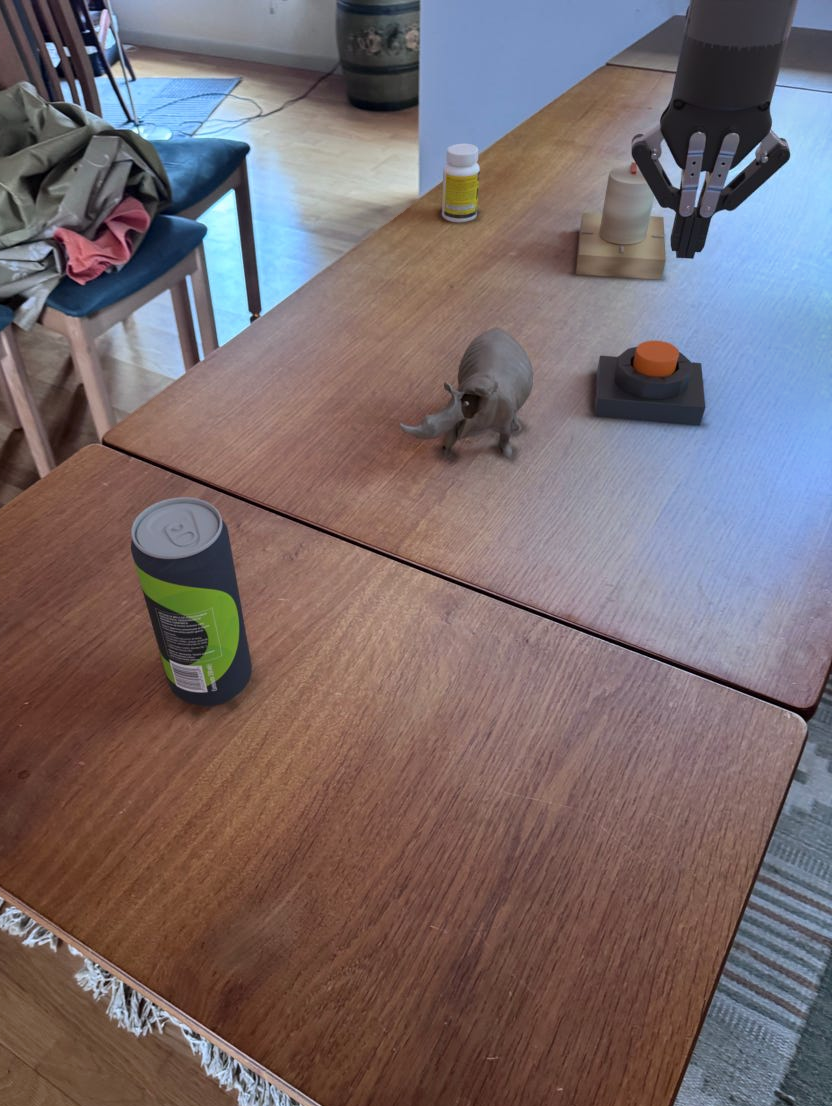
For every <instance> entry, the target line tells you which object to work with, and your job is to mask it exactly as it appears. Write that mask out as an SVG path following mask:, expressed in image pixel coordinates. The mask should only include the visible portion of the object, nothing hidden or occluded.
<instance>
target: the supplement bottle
mask: <svg viewBox="0 0 832 1106" xmlns="http://www.w3.org/2000/svg"><path fill="white" fill-rule="evenodd" d="M445 160H446V163H445V164H444V165H443V168H442V193H441V216H442V218H443V219H444V220H446V221H448V222H450V223H457V224H458V223H466V222H471V221H473V220H474V219H476V218H477V216H478V203H479V190H480V189H479V188H480V176H481V175H480V174H481V167H480V165H479V163H478V160H479V148H478V146H476V145H475V144H470V143H456V144H455V143H454V144H452V145H450V146H448V147H447V149H446V158H445Z"/></svg>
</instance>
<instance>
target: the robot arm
mask: <svg viewBox="0 0 832 1106" xmlns="http://www.w3.org/2000/svg"><path fill="white" fill-rule="evenodd" d="M798 4H799V0H689V4H688V6H687V9H686V13H685V17H684V18H685V24H684V30H683V35H682V40H681V45H680V51H679V54H678V55H679V56H678V61H677V66H676V71H675V77H674V80H673V81H674V82H673V87H672V92H671V97H670V100H669V102H668V104H667V106H666V108H665V109H664V110H663V112H662V113H661V117H660V120H659V124H657V125H656V126H654V127H653V128H652V129H650V130H649V131H647V132H646V133H645V134H643V133H637V134H636V135H634V136H633V137H632V139H631V148H630V149H631V158H632V159H633V161H634V163H636V164H637V166H638V168H639V170H640V171H641V173H642V175H643V177H644V178H645V180H646V182H647V184H648V185H649V187H650V189H651V191H652V192H653V194H654V199H655V200H656V201H657V203H658V205H659V207H660V208H662V209H667V208H668V209H670V210H673V212H675V215H674V218H673V219H674V220H673V224H672V228H671V234H670V238H669V239H670V249H671V252H675V258H676V259H687V260H689V259H690V260H694V259H695V254H696V253H701V252H702V251H703V249H704V248H705V245H706V241H707V237H708V233H709V230H710V225H711V220H712V219H713V217H714V215H716V214H717V213H719V212H722V211H728V212H732V211H735V210H736V209H737V208H739V207H740V205H742V204H743V203H744V202H745V201H746V200H747V199H748V198H749V197H750V196H752V195H753V194H754V193H755V192H756V191H758V189H760V187H761V186H762V185H764V184H765V183H766V182H767V181H768V180H769V179H770V178H772V176H774V175H775V174H776V173H777V172H778V171H779V170H780V169H781V168H783V166H784V165H786V164H788V162H789V160H790V159H791V152H790V151H791V149H790V146H789V143H788V141H787V140H786V138H784V137H779V136H778V135H777V133H775V131H773V130H772V126H773V119H772V115H771V104H772V99H773V96H774V92H775V89H776V85H777V82H778V77H779V74H780V71H781V67H782V63H783V60H784V55H785V51H786V48H787V44H788V40H789V37H790V33H791V30H792V26H793V22H794V18H795V15H796V11H797V7H798ZM663 140H664V142H665V143H666V146H667V148H668V150H669V152H670V154H671V157H672V158H673V160H674V162H675V164H676V166H677V167H678V168H680V169H681V172H680V183H679V188H678V187H676V186H674V185H673V183H672V182H671V180H670V178H669V176H668V174H667V173H666V171H665V169H664V167H663V165H662V164H661V162H660V160H659V159H660V158H661V156H662V153H663V151H662V142H663ZM757 146H758V147H757ZM756 147H757V149H756ZM754 149H756V150H755V152H754V156H755V158H754V159H753V160H752V161H751V162H750V163H749V164H748V165H747V166H745V167H744V168H743V169H742V170H741V171H740V172H739V173H738V174H736V176H735V177H734V178H733V179H731V181H729V182H728V183H727V184H726V182H727V178H728V175H729V172H730V171H732V170H733V169H736V167H737V166H738V165H739V164H740V163H741V162H742V161H743V160H745V158H746V157H748V156H749V154H751V153H752V152H753V150H754ZM704 172H705V175H704V180H703V182H702V186H701V190H700V194H699V197H698V200H697V205H696V199H697V193H698V188H699V185H700V184H699V183H700V178H701V173H704ZM725 184H726V185H725Z"/></svg>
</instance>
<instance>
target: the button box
mask: <svg viewBox="0 0 832 1106" xmlns="http://www.w3.org/2000/svg"><path fill="white" fill-rule="evenodd" d="M636 348H637V346H632V347H628V348H627V349H625V350H624V351H623V352H622V353H621V354H620V355H618V356H614V355H613V356H612V355H599V358H598V363H597V368H596V369H597V370H596V376H595V397H594V417H595V418H604V419H617V420H627V421H628V420H629V421H640V422H651V423H661V424H663V423H664V424H674V425H688V426H697V427H698V426H699V427H700V426H701V425H702V421H703V417H704V415H705V411H706V399H705V397H706V396H705V389H704V388H705V387H704V378H703V365H702V362H695V361H693V362H692V361H691V360H690V359H689V358H688V357H687V356H686V355H684V354H683V353H682V352H680V351H679V357H678V360H677V364H676V368H675V371H674V373H673V374H671V375H668V376H663V377H659V376H648V375H645V374H642V373H640V372H637V371H636V370H635V369H634V367H633V362H634V357H635V352H636Z"/></svg>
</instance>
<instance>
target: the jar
mask: <svg viewBox="0 0 832 1106" xmlns="http://www.w3.org/2000/svg"><path fill="white" fill-rule="evenodd" d="M654 200H655V196H654V194H653V192H652V191H651V189H650V187H649V185H648V184H647V182H646V180H645V178H644V177H643V175H642V173H641V171H640V170H639V168H638V166H637V164H636V163H635V162H631V164H627V165H619V166H616V167H613V168H612V169H610V171H609V172H608V177H607V184H606V189H605V195H604V201H603V208H602V213H601V214H602V219H601V225H600V231H599V235H600V237H601V238H602V239H604V240H606V241H608V242H611V243H615V244H622V245H629V244H636V243H639V242H641V241H643V240H644V239H645V238H646V235H647V230H648V225H649V220H650V216H652V210H653V205H654Z"/></svg>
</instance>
